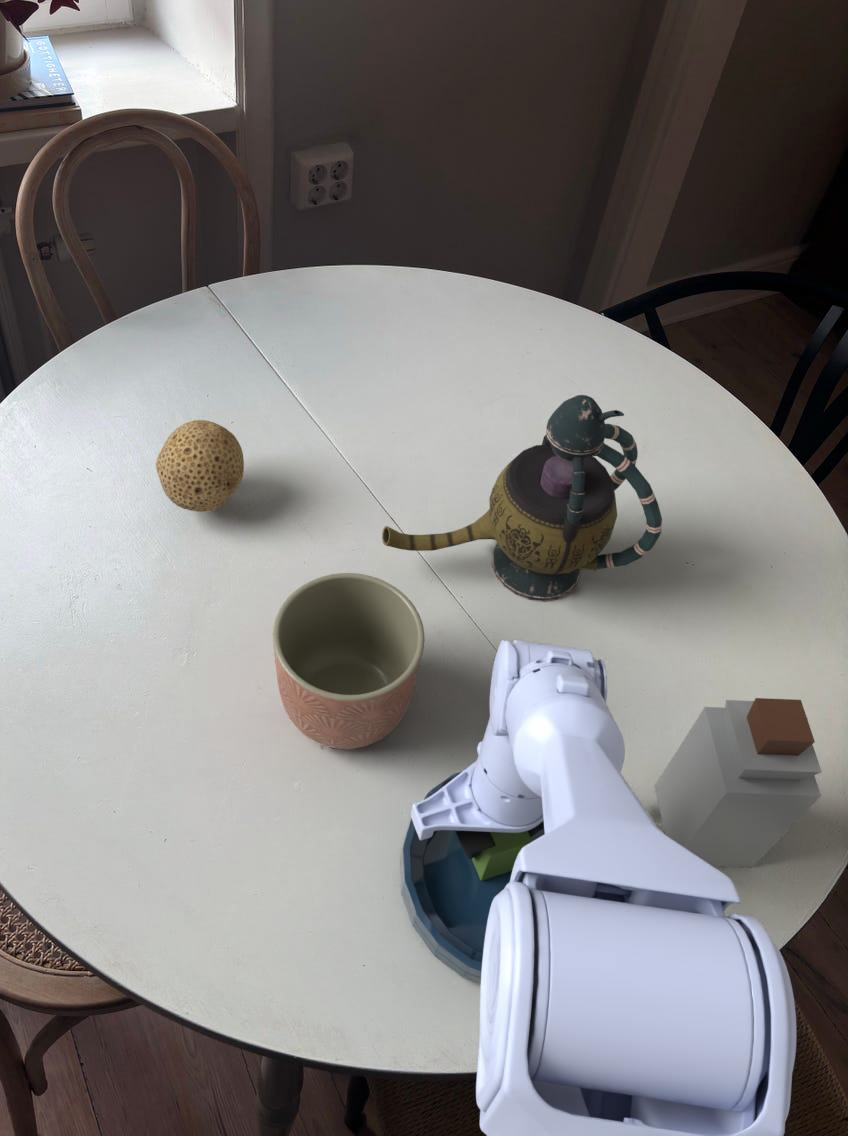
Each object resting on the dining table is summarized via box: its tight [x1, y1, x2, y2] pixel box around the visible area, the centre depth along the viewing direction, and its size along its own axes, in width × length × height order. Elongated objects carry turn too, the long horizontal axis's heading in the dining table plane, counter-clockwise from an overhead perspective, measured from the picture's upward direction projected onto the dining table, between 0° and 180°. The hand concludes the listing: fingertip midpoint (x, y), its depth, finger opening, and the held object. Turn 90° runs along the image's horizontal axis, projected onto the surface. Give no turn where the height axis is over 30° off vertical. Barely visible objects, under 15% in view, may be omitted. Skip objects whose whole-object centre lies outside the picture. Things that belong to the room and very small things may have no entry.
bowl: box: [399, 770, 545, 985], centre depth 73 cm, size 16×16×4 cm
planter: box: [272, 572, 426, 750], centre depth 80 cm, size 12×12×11 cm
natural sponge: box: [155, 419, 245, 513], centre depth 96 cm, size 9×9×10 cm
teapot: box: [381, 394, 663, 602], centre depth 87 cm, size 12×25×23 cm, turn 94°
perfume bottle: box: [654, 697, 823, 868], centre depth 71 cm, size 7×7×18 cm
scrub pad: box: [472, 831, 533, 881], centre depth 74 cm, size 5×4×5 cm
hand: (492, 838), depth 74 cm, fingers closed on scrub pad, 3 cm apart
